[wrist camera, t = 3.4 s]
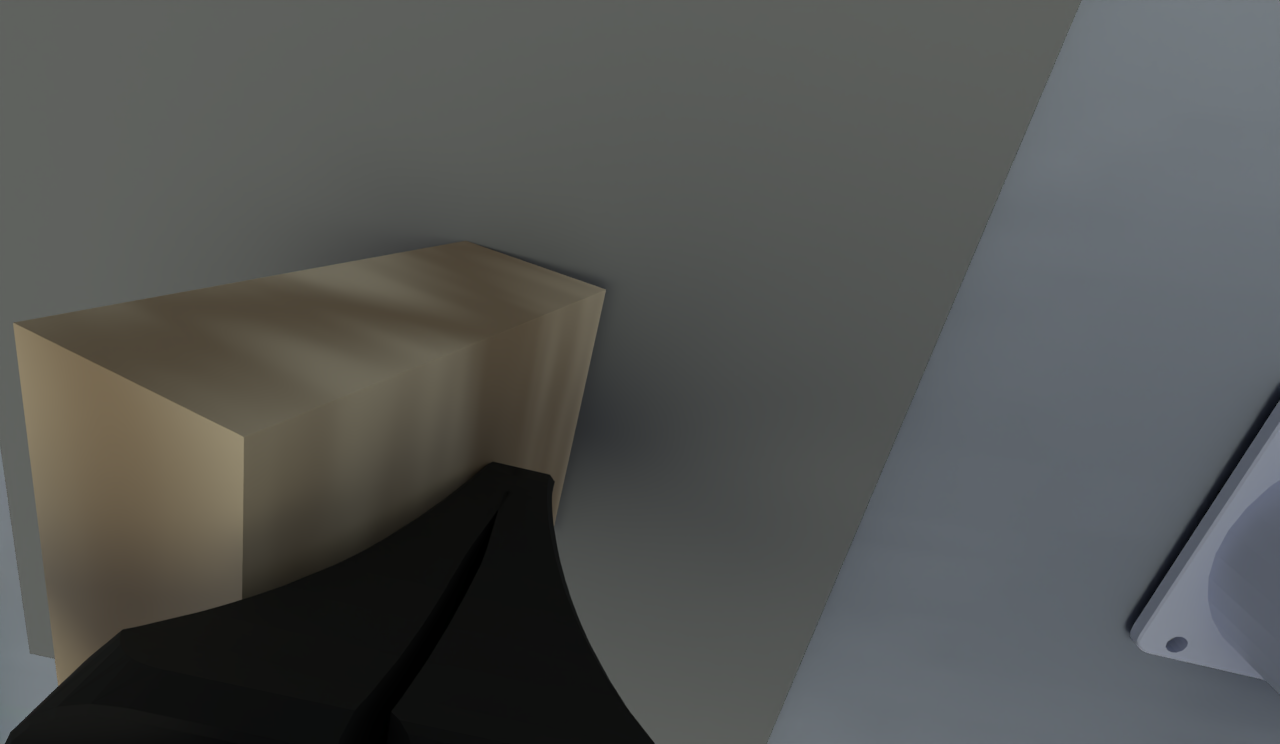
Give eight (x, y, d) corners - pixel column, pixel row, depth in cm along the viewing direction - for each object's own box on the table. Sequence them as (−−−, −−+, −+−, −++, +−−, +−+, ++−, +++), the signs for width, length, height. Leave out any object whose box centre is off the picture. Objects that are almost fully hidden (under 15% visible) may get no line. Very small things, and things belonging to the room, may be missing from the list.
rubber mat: (1101, -71, 13) (1113, -77, 12) (739, 794, 22) (740, 806, 21) (-97, -389, 12) (-121, -405, 12) (41, 643, 21) (30, 653, 21)
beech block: (606, 289, 14) (244, 437, 7) (546, 558, 17) (238, 879, 9) (460, 238, 15) (3, 318, 8) (426, 500, 18) (59, 748, 10)
